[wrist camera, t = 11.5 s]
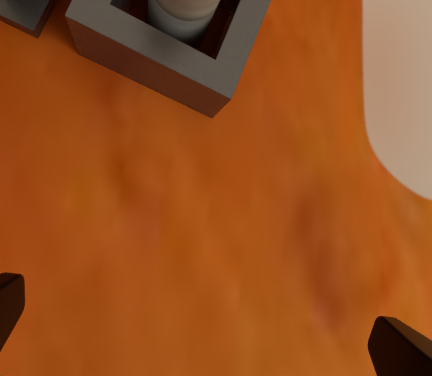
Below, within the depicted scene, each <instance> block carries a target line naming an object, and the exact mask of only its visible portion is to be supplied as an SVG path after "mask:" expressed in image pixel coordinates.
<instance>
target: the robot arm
mask: <svg viewBox="0 0 432 376" xmlns="http://www.w3.org/2000/svg"><path fill="white" fill-rule="evenodd" d="M24 306H25V283H24V277H23V276H22V275H21V274H16V273H7V272H5V273H1V274H0V351H1V350H2V348H3V346H4V344H5V343H6V341H7V339H8V337H9V336H10V334H11V332H12V330H13V328H14V327H15V325H16V323H17V321H18V320H19V318H20V316H21V314H22V312H23V310H24ZM368 351H369V354H370V357H371V360H372V363H373V366H374V368H375V371H376V374H377V376H432V340H430V339H428V338H427V337H425V336H424V335H422V334H420V333H419V332H417V331H416V330H414V329H412V328H411V327H409V326H408V325H406V324H404V323H403V322H401V321H400V320H398V319H396V318H394V317H386V316H379V317H377V318H376V320H375V323H374V325H373V328H372V331H371V334H370V337H369V340H368Z"/></svg>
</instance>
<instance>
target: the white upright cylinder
mask: <svg viewBox="0 0 432 376" xmlns="http://www.w3.org/2000/svg"><path fill="white" fill-rule="evenodd" d="M219 1H220V0H148V6H147V17H146V24H148V25H150V26H152V27H154V28H156V29H158V30H160V31H162V32H163V33H165V34H167V35H169V36H171V37H173V38H175V39H177V40H179V41H180V42H182V43H184V44H186V45H188V46H190V47H192V48H194V49H197V48H198V47H199V45H200V44H201V41H202V39H203V37H204V35H205V33H206V30H207V28H208V26H209V24H210V21H211V19H212V17H213V15H214V12H215V10H216V8H217V6H218V4H219Z"/></svg>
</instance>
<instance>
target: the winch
mask: <svg viewBox="0 0 432 376" xmlns="http://www.w3.org/2000/svg"><path fill="white" fill-rule="evenodd" d="M56 1H57V0H0V20H1V21H3V22H5V23H7V24H9V25H11V26H13V27H15V28H18V29H20V30H22V31H24V32H26V33H28V34H30V35H32V36H34V37H36V38H38V37H39V35H40V33H41V31H42V29H43V27H44V25H45V23H46V21H47V19H48V17H49V15H50V13H51V11H52V9H53V7H54V5H55V3H56ZM270 1H271V0H220V1H219V5H221V6H222V7H224V8H226V9H228V10H229V11H231V13H230V15H229V17H228V20H227V22H226V25H225V27H224V29H223V32H222V34H221V37H220V39H219V41H218V44H217V46H216V49H215V51H214V53H213V56H212V58H211V57H209V56H207V55H205V54H203V53H201V52H199V51H198V50H196V49H194V48H192V47H190V46H188V45H186V44H184V43H182V42H180V41H179V40H177V39H175V38H173V37H171V36H169V35H167V34H165V33H163V32H162V31H160V30H158V29H156V28H154V27H152V26H150V25H148V24H146V23H144V22H143V21H141V20H139V19H137V18H135V17H133V16H131V15H129V14H128V13H129V11H130V8H131V6H132V4H133V2H134V0H72V1H71V3H70V5H69V7H68V9H67V11H66V13H65V18H66V21H67V23H68V26H69V29H70V32H71V35H72V38H73V40H74V43H75V46H76V49H77V52H78V54H80V55H82V56H84V57H86V58H88V59H90V60H92V61H94V62H96V63H98V64H100V65H103V66H105V67H107V68H109V69H111V70H113V71H115V72H117V73H119V74H121V75H123V76H125V77H128V78H130V79H132V80H134V81H136V82H138V83H140V84H142V85H144V86H146V87H148V88H150V89H152V90H155V91H157V92H159V93H161V94H163V95H165V96H167V97H169V98H171V99H173V100H175V101H177V102H180V103H182V104H184V105H186V106H188V107H190V108H192V109H194V110H196V111H198V112H200V113H202V114H205V115H207V116H209V117H211V118H213V117H214V116H215V115H216V114H217V113H218V112H219V111H220V110H221V109H222V108H223V107H224V106H225V105H226V104H227V103H228V102H229V101H230V100H231V99H232V96H233V94H234V91H235V89H236V86H237V84H238V81H239V79H240V76H241V74H242V71H243V69H244V66H245V64H246V61H247V59H248V56H249V54H250V51H251V49H252V46H253V44H254V41H255V39H256V36H257V34H258V31H259V29H260V26H261V24H262V21H263V19H264V16H265V14H266V11H267V9H268V6H269V4H270Z"/></svg>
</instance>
